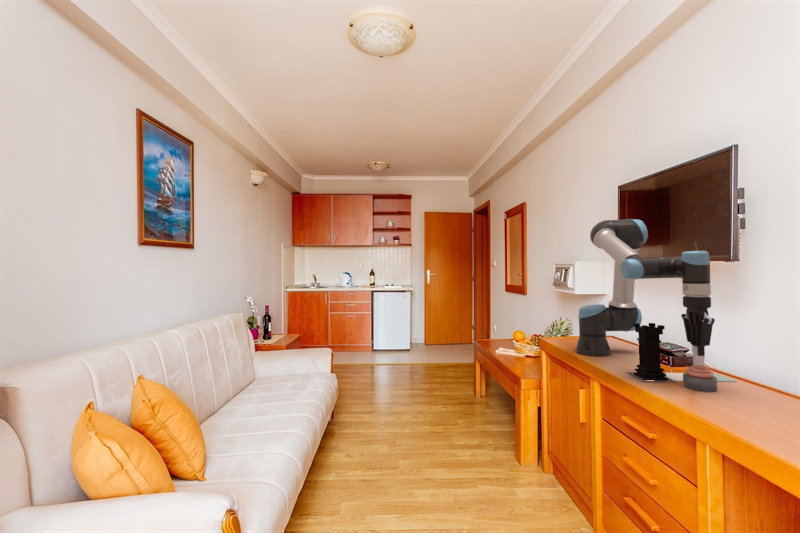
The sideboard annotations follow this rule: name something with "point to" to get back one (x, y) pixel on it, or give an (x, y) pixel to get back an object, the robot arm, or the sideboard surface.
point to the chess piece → (649, 352)
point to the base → (700, 383)
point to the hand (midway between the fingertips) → (698, 364)
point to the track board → (679, 377)
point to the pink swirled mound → (699, 371)
